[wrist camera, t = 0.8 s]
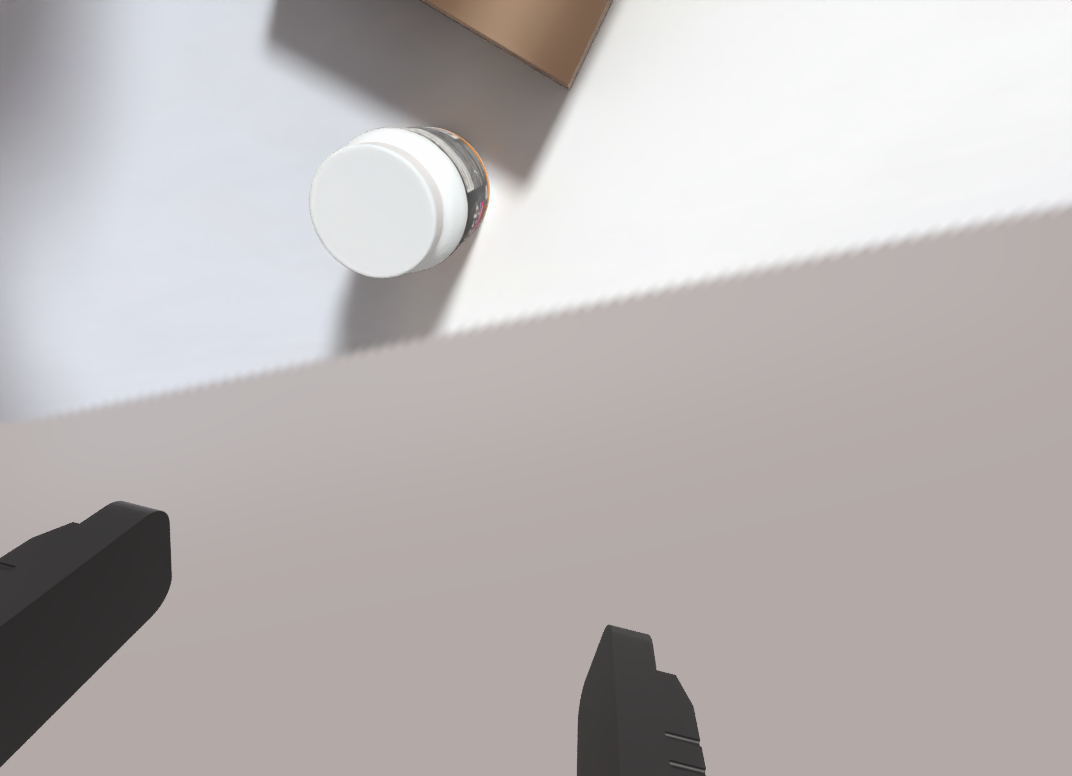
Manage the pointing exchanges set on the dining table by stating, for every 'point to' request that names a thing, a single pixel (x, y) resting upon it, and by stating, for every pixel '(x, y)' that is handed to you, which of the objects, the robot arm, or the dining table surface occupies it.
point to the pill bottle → (398, 199)
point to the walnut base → (534, 29)
